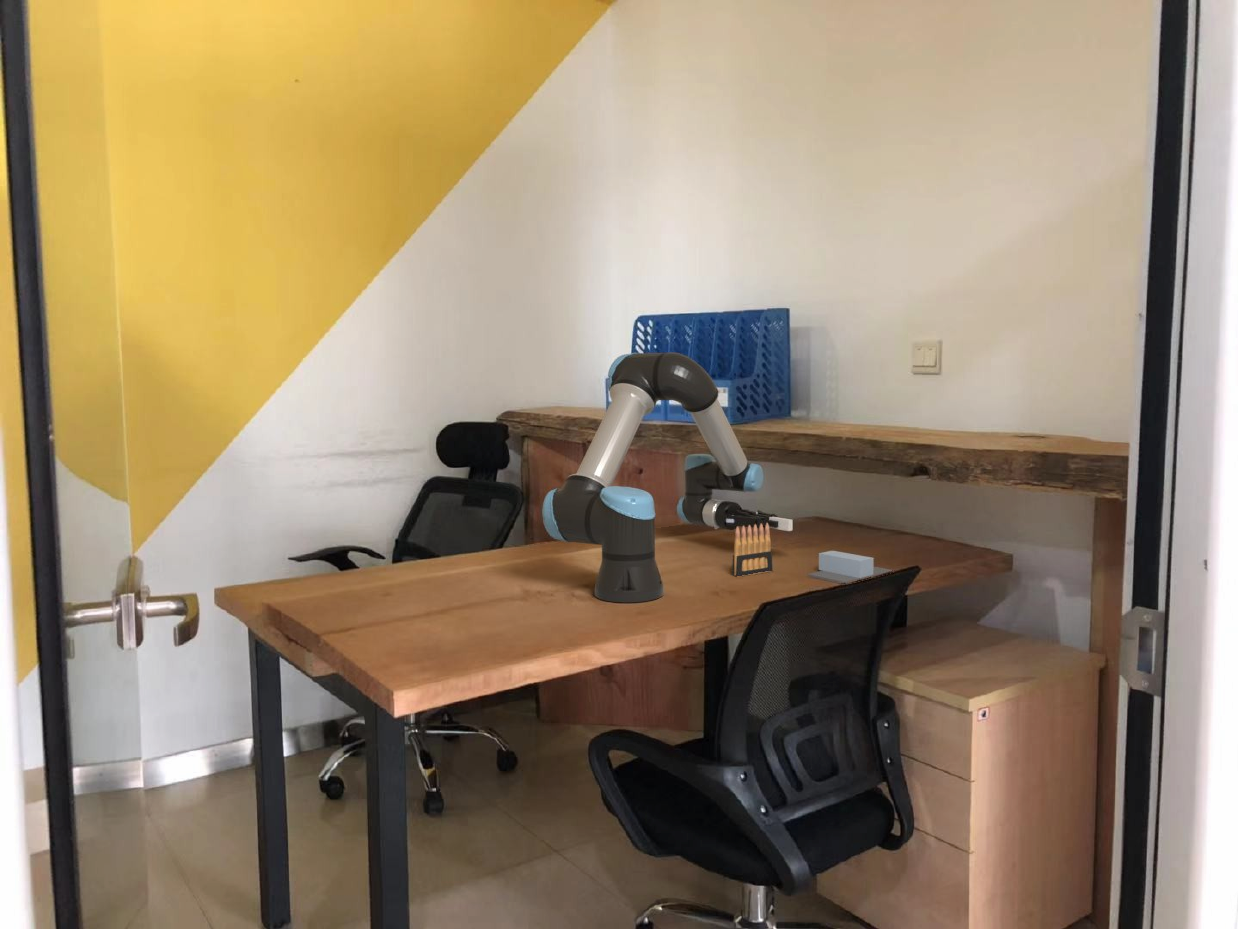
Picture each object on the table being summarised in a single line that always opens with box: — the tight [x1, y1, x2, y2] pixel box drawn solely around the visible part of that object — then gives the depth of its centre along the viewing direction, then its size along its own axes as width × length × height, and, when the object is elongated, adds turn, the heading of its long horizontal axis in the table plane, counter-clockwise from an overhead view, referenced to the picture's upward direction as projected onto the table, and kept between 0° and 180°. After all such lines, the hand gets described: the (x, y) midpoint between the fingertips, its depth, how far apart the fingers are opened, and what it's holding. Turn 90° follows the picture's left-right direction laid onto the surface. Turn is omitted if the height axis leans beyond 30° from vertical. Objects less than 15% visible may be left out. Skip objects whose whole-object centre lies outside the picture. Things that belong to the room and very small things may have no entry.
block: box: [818, 550, 875, 578], centre depth 223 cm, size 5×4×12 cm
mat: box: [807, 565, 893, 584], centre depth 224 cm, size 18×11×1 cm, turn 129°
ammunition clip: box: [731, 523, 773, 577], centre depth 226 cm, size 11×2×12 cm, turn 119°
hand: (790, 525), depth 236 cm, fingers closed
